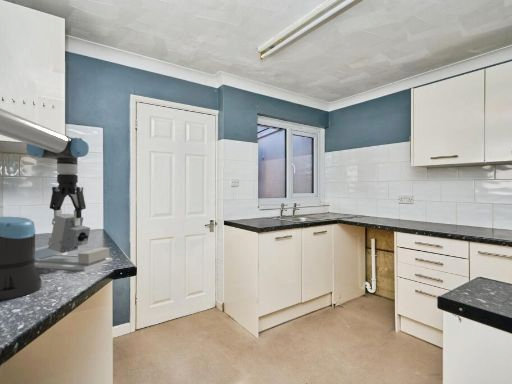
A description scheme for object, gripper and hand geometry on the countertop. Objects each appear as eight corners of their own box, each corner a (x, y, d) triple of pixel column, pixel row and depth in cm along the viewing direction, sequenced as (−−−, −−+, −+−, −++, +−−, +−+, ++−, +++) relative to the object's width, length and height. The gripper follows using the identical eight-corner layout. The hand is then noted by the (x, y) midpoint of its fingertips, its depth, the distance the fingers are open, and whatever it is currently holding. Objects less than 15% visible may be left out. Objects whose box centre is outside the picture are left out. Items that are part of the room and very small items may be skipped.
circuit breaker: (74, 256, 117) (81, 222, 117) (47, 248, 120) (53, 214, 119) (88, 252, 125) (94, 220, 124) (62, 245, 128) (68, 213, 127)
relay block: (62, 256, 135) (62, 242, 135) (53, 256, 134) (53, 242, 134) (67, 254, 140) (67, 240, 140) (59, 254, 139) (58, 241, 139)
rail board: (84, 270, 112) (84, 254, 112) (19, 266, 118) (19, 251, 118) (112, 260, 127) (112, 246, 127) (53, 257, 133) (53, 244, 133)
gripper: (95, 174, 124) (95, 224, 124) (54, 174, 128) (54, 223, 128) (81, 173, 117) (82, 227, 117) (38, 173, 121) (39, 225, 121)
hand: (67, 225), depth 122 cm, fingers closed on circuit breaker, 9 cm apart
